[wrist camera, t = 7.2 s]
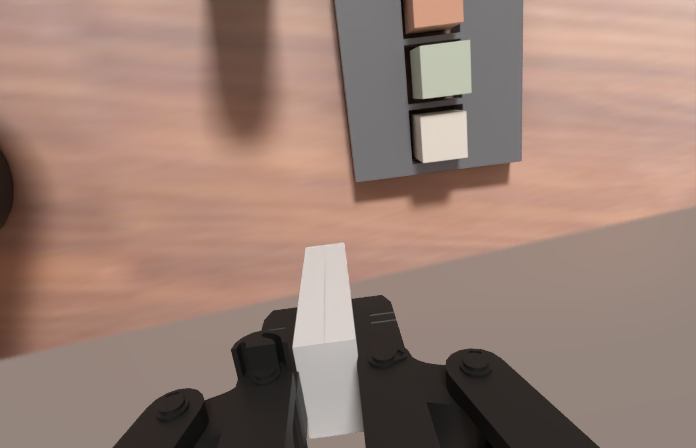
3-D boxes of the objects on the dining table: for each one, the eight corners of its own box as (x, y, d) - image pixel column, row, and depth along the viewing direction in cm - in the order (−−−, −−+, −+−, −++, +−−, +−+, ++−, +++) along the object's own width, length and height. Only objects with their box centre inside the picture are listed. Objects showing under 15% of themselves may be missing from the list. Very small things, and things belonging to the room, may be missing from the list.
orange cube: (405, 34, 37) (414, 27, 33) (402, -16, 36) (410, -29, 32) (451, 28, 37) (465, 21, 33) (449, -22, 36) (463, -35, 32)
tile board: (354, 177, 42) (356, 182, 39) (331, -24, 36) (331, -32, 34) (510, 157, 42) (521, 161, 39) (510, -46, 36) (523, -55, 34)
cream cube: (414, 156, 40) (423, 163, 37) (411, 114, 39) (420, 116, 35) (455, 151, 40) (469, 157, 37) (454, 109, 39) (467, 110, 35)
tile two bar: (413, 98, 37) (422, 99, 33) (409, 51, 36) (419, 46, 32) (458, 92, 37) (473, 92, 33) (456, 45, 36) (471, 39, 32)
